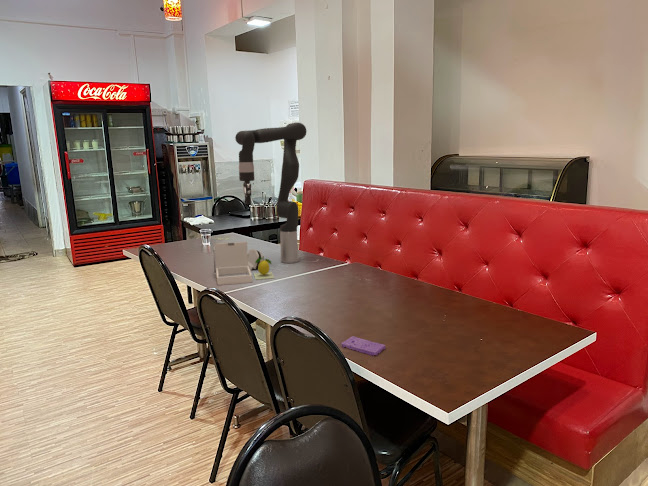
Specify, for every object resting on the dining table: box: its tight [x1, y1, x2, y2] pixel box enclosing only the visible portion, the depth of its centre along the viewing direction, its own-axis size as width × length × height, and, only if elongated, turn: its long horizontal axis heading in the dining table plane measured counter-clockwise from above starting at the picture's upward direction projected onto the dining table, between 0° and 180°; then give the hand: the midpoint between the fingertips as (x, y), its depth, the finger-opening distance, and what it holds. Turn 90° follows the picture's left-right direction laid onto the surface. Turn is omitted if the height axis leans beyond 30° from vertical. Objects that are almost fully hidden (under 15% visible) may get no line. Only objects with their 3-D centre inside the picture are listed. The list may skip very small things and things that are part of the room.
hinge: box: [248, 249, 264, 272], centre depth 259 cm, size 17×5×10 cm, turn 24°
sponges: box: [341, 335, 386, 357], centre depth 156 cm, size 7×13×2 cm, turn 55°
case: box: [212, 241, 253, 286], centre depth 236 cm, size 17×20×16 cm
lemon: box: [255, 255, 272, 275], centre depth 239 cm, size 7×6×10 cm
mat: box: [252, 271, 275, 281], centre depth 240 cm, size 9×11×1 cm
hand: (247, 203), depth 250 cm, fingers open, 8 cm apart
